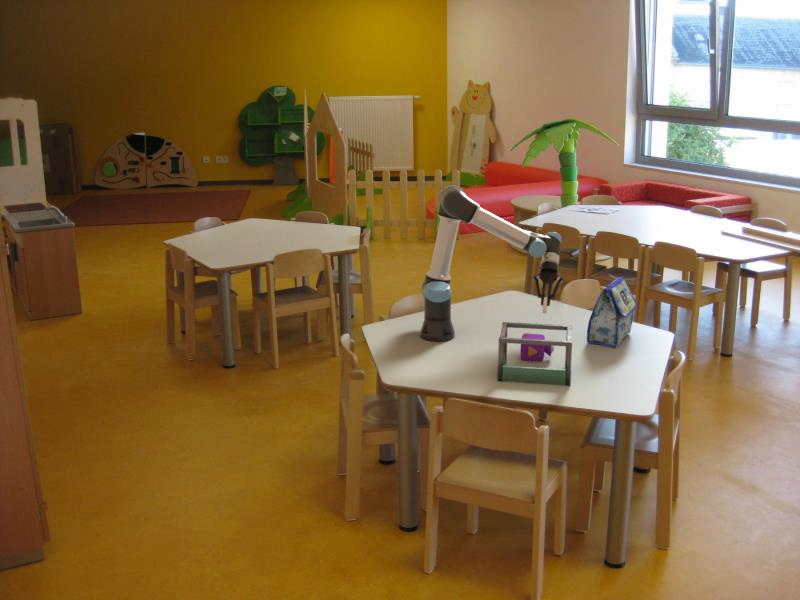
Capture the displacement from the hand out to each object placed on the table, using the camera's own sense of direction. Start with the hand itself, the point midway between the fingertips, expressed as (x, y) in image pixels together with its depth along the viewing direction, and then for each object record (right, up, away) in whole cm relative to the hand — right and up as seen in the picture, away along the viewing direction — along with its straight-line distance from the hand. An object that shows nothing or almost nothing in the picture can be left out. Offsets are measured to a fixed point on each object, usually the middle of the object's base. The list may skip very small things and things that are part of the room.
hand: (544, 311), depth 367 cm
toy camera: (-6, -19, -16) cm, 26 cm away
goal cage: (-9, -24, -32) cm, 41 cm away
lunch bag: (+30, -12, +5) cm, 33 cm away
